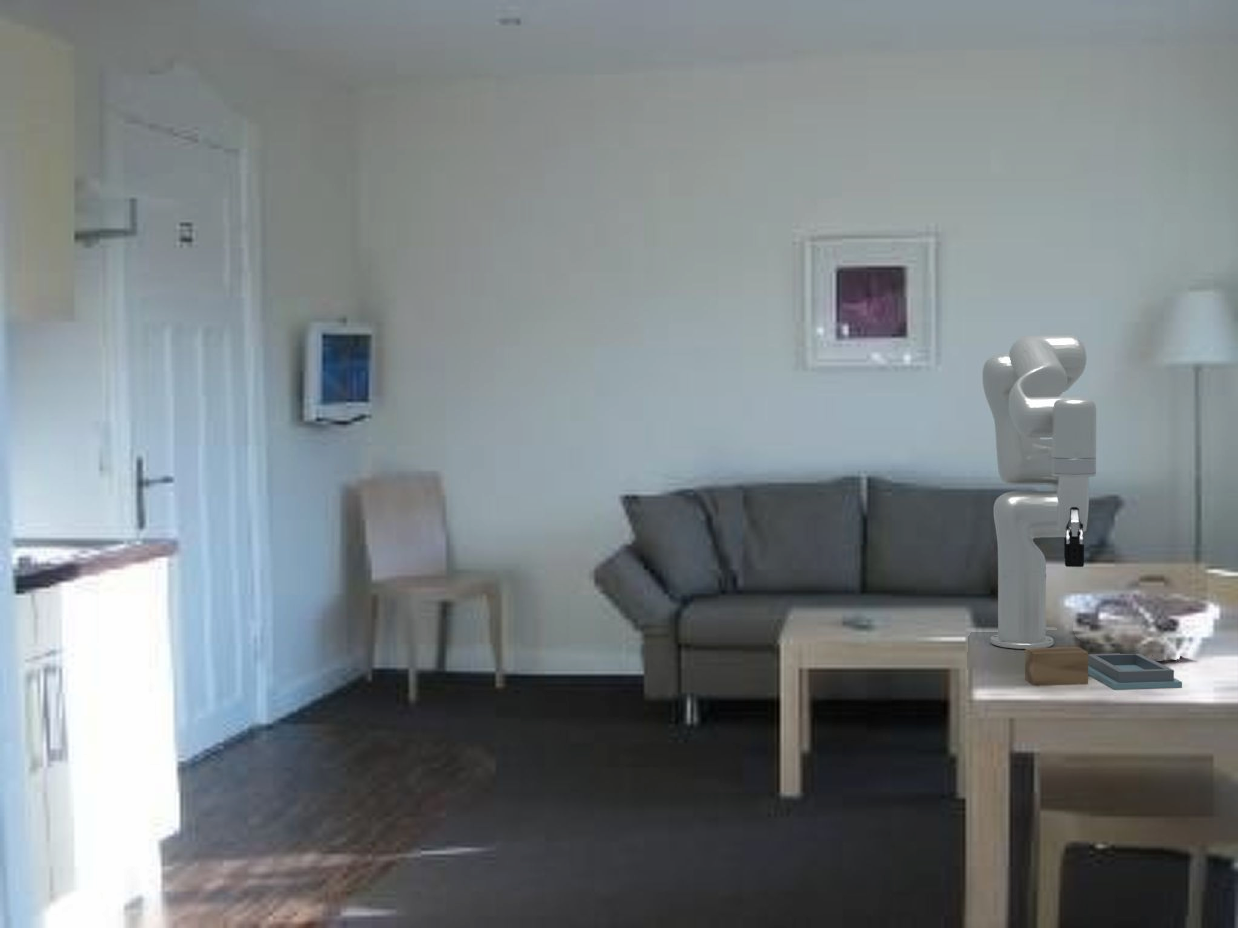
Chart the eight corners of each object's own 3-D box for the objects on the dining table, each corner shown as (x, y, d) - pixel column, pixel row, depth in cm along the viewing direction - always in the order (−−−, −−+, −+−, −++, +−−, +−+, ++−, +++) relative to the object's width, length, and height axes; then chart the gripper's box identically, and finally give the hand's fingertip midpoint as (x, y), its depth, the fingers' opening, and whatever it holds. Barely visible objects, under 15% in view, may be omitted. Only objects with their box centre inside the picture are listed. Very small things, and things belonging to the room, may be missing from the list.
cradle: (1079, 669, 284) (1079, 653, 283) (1143, 667, 284) (1143, 651, 284) (1113, 689, 267) (1114, 672, 266) (1181, 687, 267) (1182, 670, 267)
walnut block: (1025, 680, 276) (1025, 648, 276) (1078, 678, 276) (1078, 646, 276) (1033, 686, 271) (1033, 653, 271) (1088, 684, 271) (1088, 652, 271)
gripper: (1052, 464, 277) (1052, 556, 278) (1052, 471, 260) (1052, 569, 261) (1094, 464, 274) (1094, 557, 276) (1097, 471, 258) (1097, 569, 259)
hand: (1073, 562), depth 268 cm, fingers open, 9 cm apart
